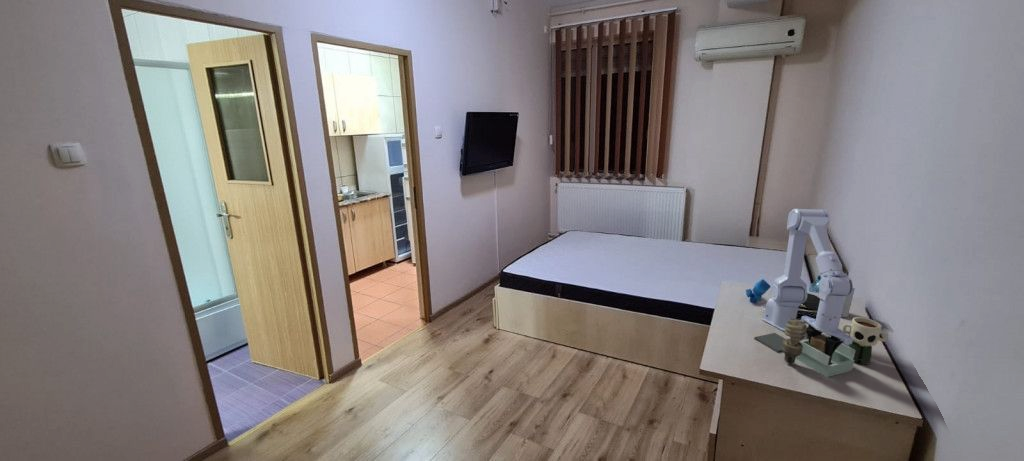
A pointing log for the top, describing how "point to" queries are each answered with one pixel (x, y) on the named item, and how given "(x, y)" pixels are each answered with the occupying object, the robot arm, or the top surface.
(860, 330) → the character mug
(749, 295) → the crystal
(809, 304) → the smart speaker
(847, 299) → the skincare box
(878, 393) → the top surface
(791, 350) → the light bulb
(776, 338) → the mat
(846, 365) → the pale green open tray
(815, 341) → the walnut box
